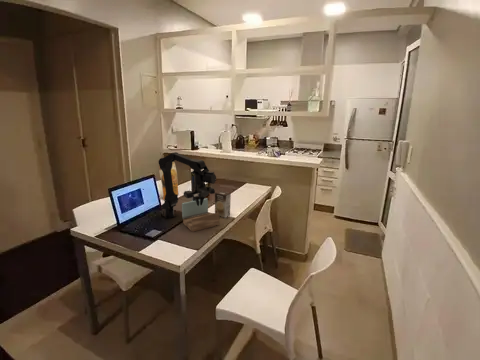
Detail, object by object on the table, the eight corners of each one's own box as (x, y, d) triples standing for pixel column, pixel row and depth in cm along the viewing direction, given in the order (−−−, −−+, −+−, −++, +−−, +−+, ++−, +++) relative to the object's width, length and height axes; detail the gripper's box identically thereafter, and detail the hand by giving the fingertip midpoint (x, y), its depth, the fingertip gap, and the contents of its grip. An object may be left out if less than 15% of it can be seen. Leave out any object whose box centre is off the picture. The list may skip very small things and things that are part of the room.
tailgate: (181, 217, 171) (181, 202, 168) (206, 212, 181) (206, 197, 178) (183, 218, 169) (182, 203, 167) (208, 213, 179) (208, 198, 176)
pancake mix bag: (157, 199, 211) (155, 164, 203) (175, 193, 226) (174, 160, 218) (163, 201, 207) (161, 165, 200) (181, 194, 223) (180, 161, 215)
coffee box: (214, 215, 184) (214, 192, 180) (219, 212, 189) (219, 190, 185) (225, 218, 179) (225, 195, 175) (230, 214, 185) (231, 192, 180)
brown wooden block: (183, 223, 170) (182, 211, 168) (208, 217, 180) (208, 206, 178) (192, 231, 159) (192, 219, 157) (219, 224, 169) (219, 213, 167)
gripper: (190, 187, 152) (191, 212, 156) (219, 182, 162) (219, 206, 166) (182, 182, 160) (183, 206, 165) (210, 178, 171) (210, 201, 175)
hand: (199, 205), depth 167 cm, fingers closed
